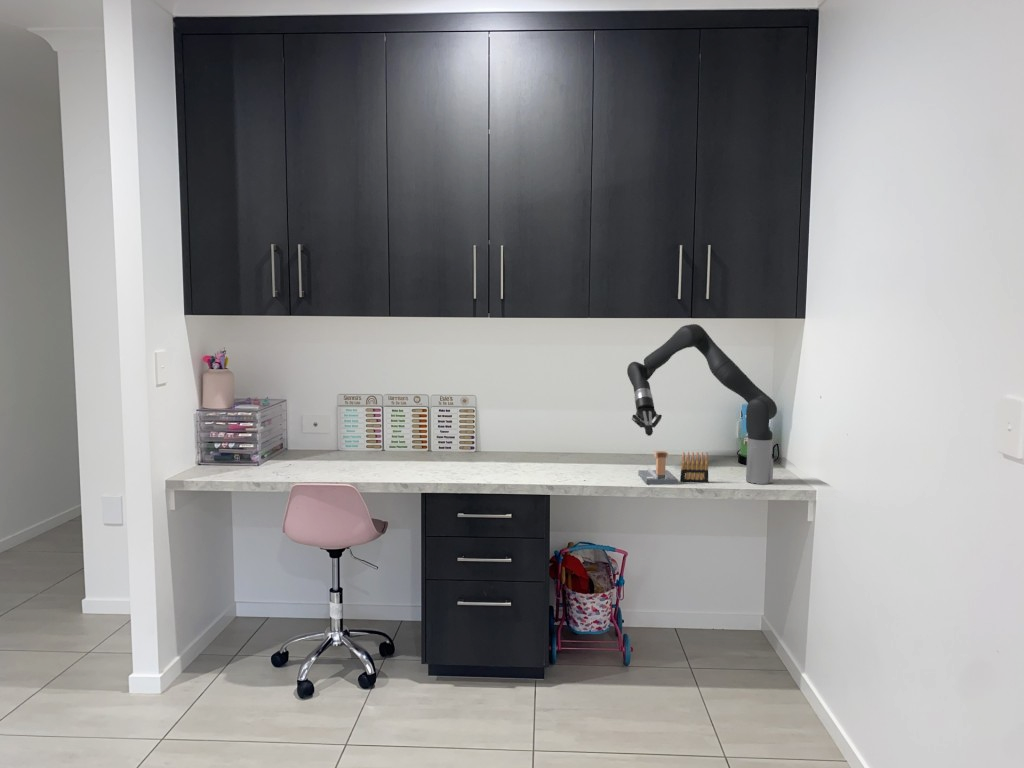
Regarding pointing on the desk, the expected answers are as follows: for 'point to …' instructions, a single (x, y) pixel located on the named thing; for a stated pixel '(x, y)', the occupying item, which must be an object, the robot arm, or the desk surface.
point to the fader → (660, 463)
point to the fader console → (652, 478)
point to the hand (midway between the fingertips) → (649, 434)
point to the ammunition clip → (694, 469)
